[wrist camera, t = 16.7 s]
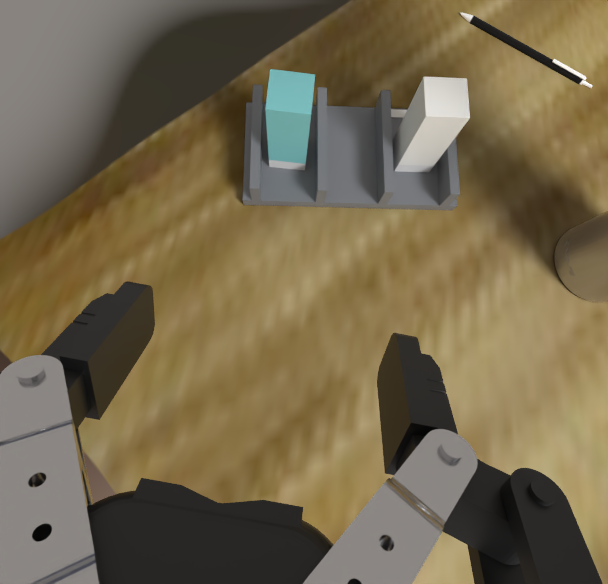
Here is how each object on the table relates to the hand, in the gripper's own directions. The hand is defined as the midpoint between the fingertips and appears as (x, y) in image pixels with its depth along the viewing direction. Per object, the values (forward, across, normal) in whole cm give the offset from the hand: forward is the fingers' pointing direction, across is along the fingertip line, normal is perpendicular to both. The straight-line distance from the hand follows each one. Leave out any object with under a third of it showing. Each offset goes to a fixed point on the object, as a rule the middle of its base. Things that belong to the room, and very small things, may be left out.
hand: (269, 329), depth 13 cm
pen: (+51, -23, -10) cm, 57 cm away
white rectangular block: (+37, -11, +2) cm, 39 cm away
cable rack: (+37, -4, +4) cm, 37 cm away
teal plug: (+35, +3, +4) cm, 36 cm away
